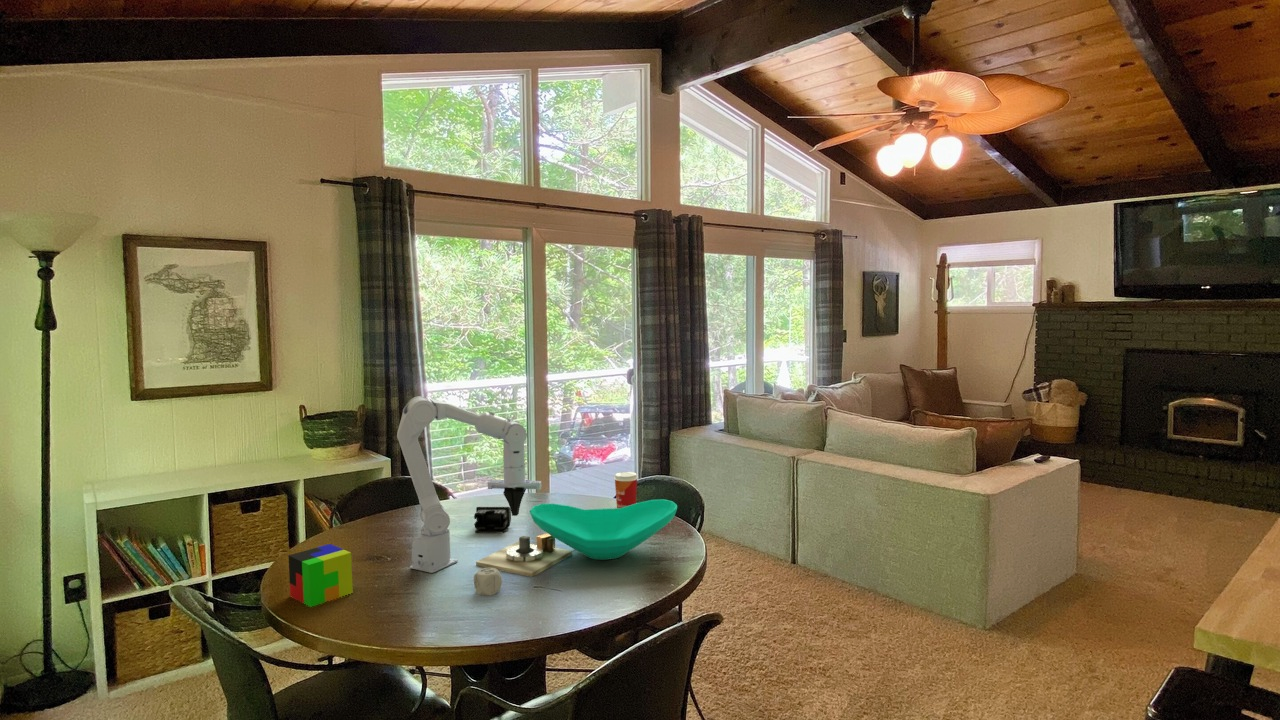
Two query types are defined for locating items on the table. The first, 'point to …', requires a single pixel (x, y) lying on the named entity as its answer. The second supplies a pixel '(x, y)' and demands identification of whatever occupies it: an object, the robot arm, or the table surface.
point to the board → (525, 567)
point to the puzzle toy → (320, 574)
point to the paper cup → (625, 488)
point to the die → (487, 581)
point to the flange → (535, 550)
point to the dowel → (549, 545)
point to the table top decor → (604, 526)
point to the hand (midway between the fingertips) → (515, 514)
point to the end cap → (492, 519)
